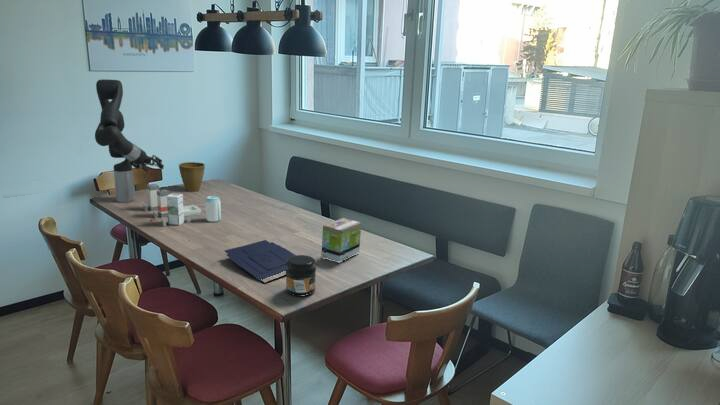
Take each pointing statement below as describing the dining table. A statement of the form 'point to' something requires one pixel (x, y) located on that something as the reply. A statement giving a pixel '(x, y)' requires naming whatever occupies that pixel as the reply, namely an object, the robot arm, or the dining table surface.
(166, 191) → the marked fuse
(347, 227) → the tea box
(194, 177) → the plant pot
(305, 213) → the dining table surface
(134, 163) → the robot arm
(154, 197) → the block
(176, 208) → the syrup box
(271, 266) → the dark blue book
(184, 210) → the tray
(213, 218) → the can
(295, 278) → the supplement container
